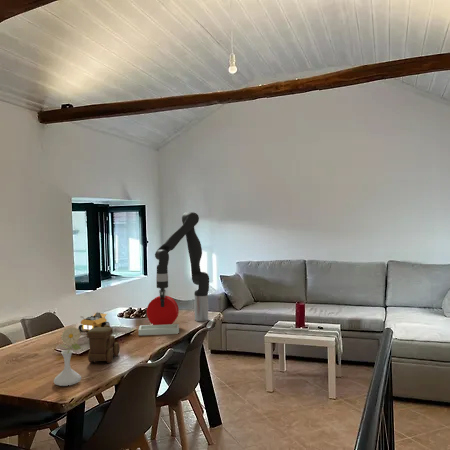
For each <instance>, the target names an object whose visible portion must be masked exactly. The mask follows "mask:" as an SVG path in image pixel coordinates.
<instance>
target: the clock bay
mask: <svg viewBox="0 0 450 450" xmlns="http://www.w3.org/2000/svg"><path fill="white" fill-rule="evenodd" d="M178 333H179V334H180V324H179V323H172V324H165V325H153V324H149V325H148V324H147V325H146V324H145V325H144V324H143V325H139V326H138V336H155V335H157V336H158V335H176V334H177V335H179V334H178Z"/></svg>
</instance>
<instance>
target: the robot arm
mask: <svg viewBox="0 0 450 450" xmlns="http://www.w3.org/2000/svg"><path fill="white" fill-rule="evenodd" d="M199 221H200V216H199V214H198V213H196V212H191V211H186V212H184V213H183V214H182V216H181V222H182V225H181V226H180V227H179V228H178V229H177V230H175V231H174V232H172V233H171V235H169V237H168V238H167V240H166V241H165V242H164V243H163V244H162V245H160V246H159V247H158V249H157V250H156V251H155V254H154V258H155V259H157V261H158V264H157V265H156V279H155V280H156V288H157V289H159V291H158V292H159V296H160V301H161V307H164V301H165V300H164V297H165V296H166V292H167V291H166V289H167V288H169V274H168V272H169V271H168V265H169V260H170V255H169V252H170V251H174V249H175V248H176V246H177V245H178V244H179V243H180V242H181V240H183V238H184V237H185V238H186V245H187V251H188V256H189V263H190V271H191V281H192V283H193V284H194V285H197V286H198V288H197V289H196V290H194V321H195V320H196V322H207V321H208V320H209V296H208V295H209V292H210V276H209V274H208V272H206V271H205V272H204V271H201V266H200V265H201V264H200V263H201V259H202V256H203V251H202V250H203V248H202V244H201V243H202V242H201V241H200V239H199V237H198V235H197V233H196V229H195V227H196V225H197V224H198V223H199ZM161 298H163V299H161Z"/></svg>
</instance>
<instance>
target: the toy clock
mask: <svg viewBox="0 0 450 450" xmlns="http://www.w3.org/2000/svg"><path fill="white" fill-rule="evenodd" d="M161 299H163V298H161ZM164 300H165V301H164V307H161V301H160V295H158V296H156V297H154V298H153V299H152V300H151V301H149V303H148V305H147V306H146V316H147V317H146V318H147V319H148V321H149V322H150V324H151V325H165V324H174V323H175V322H176V320H177V318H178V317H179V312H180V311H179V310H180V309H179V305H178V303H177V301H175V299H174V298H173V297H171V296H169V295H165V297H164Z"/></svg>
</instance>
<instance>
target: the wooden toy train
mask: <svg viewBox="0 0 450 450" xmlns="http://www.w3.org/2000/svg"><path fill="white" fill-rule="evenodd" d="M113 329H114V328H113V327H111V326H110V325H105V326H104V327H96V328H92V329H90V330H89V331H88V330H87V332H86V338H87V339H88V341H89V351H88V353H87V359H88V362H89V363H90V364H92V363H94V362H106V363H107V364H110V363H112V362H113V360H114V359H113V358H114V357H118V355H119V353H120V348H121V347H120V343H119V342H117V341H116V338H115V335H113V333H114V332H113V331H114V330H113Z"/></svg>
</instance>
